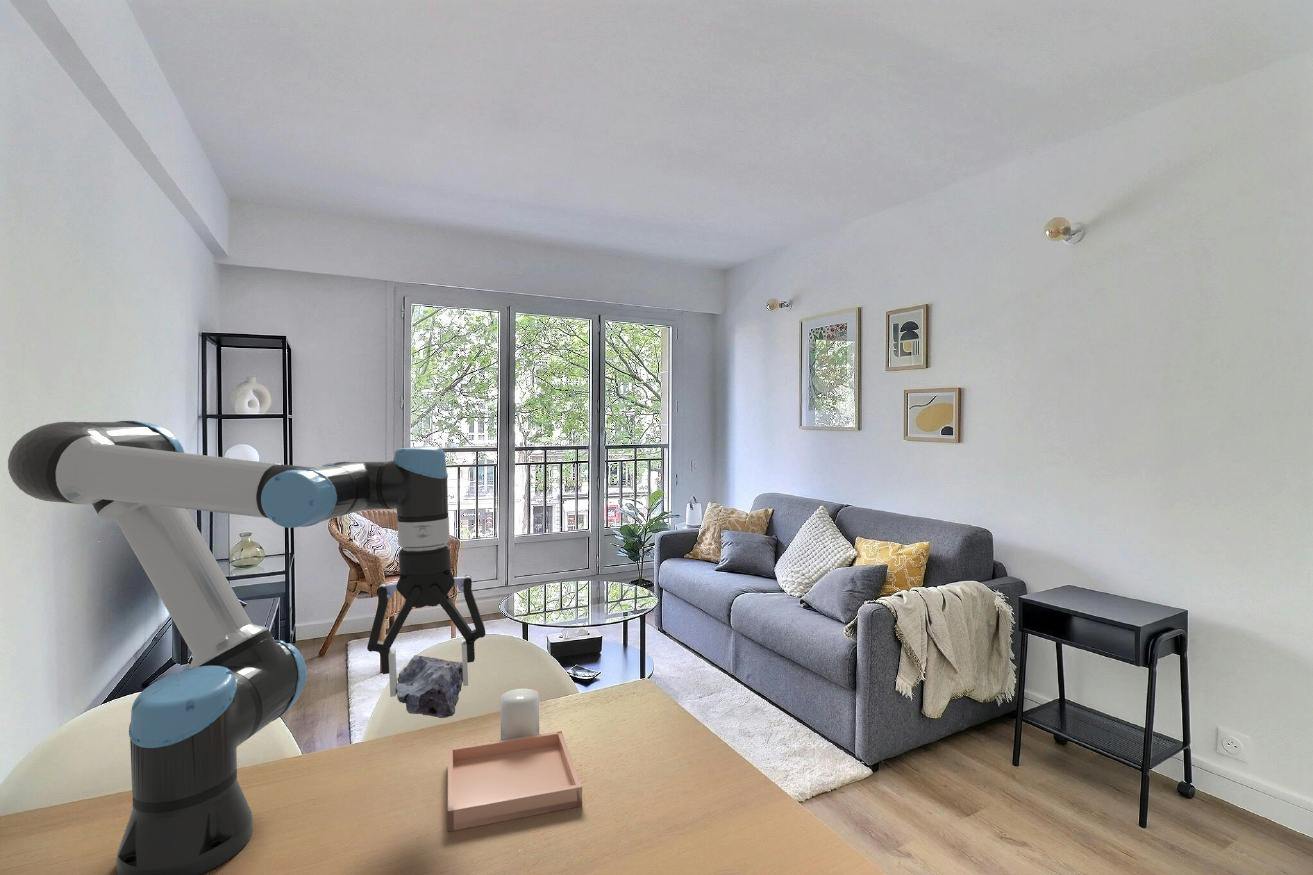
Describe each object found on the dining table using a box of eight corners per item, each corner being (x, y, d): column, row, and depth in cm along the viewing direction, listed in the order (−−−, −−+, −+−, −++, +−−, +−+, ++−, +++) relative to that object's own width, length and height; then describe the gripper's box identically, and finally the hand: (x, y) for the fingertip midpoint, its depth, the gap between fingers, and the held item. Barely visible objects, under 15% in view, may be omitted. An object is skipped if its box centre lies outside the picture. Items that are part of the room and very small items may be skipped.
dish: (448, 831, 92) (447, 811, 92) (447, 765, 110) (447, 748, 110) (582, 805, 98) (582, 786, 98) (561, 747, 116) (561, 731, 116)
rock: (462, 714, 93) (468, 643, 97) (388, 717, 90) (397, 643, 95) (460, 721, 105) (464, 658, 110) (394, 724, 102) (401, 659, 107)
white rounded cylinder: (502, 750, 115) (502, 706, 115) (499, 732, 122) (499, 691, 121) (541, 744, 117) (541, 701, 117) (536, 727, 124) (536, 686, 124)
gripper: (340, 557, 93) (347, 709, 93) (500, 544, 100) (505, 685, 100) (349, 548, 100) (355, 689, 101) (497, 536, 107) (502, 668, 107)
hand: (430, 687), depth 100 cm, fingers closed on rock, 10 cm apart
